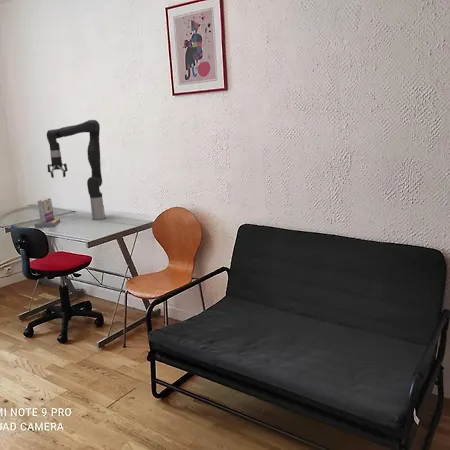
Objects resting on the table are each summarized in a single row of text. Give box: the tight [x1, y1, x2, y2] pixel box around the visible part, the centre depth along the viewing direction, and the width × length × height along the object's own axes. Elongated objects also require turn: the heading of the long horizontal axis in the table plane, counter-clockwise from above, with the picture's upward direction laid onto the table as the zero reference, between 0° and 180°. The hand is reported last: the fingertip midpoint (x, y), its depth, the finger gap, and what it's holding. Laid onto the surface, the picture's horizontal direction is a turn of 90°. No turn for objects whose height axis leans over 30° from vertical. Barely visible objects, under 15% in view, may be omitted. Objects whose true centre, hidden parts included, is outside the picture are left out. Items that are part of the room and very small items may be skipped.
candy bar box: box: [37, 197, 55, 223], centre depth 344 cm, size 11×5×16 cm, turn 170°
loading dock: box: [33, 217, 61, 229], centre depth 347 cm, size 14×16×3 cm
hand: (58, 177), depth 357 cm, fingers open, 8 cm apart
